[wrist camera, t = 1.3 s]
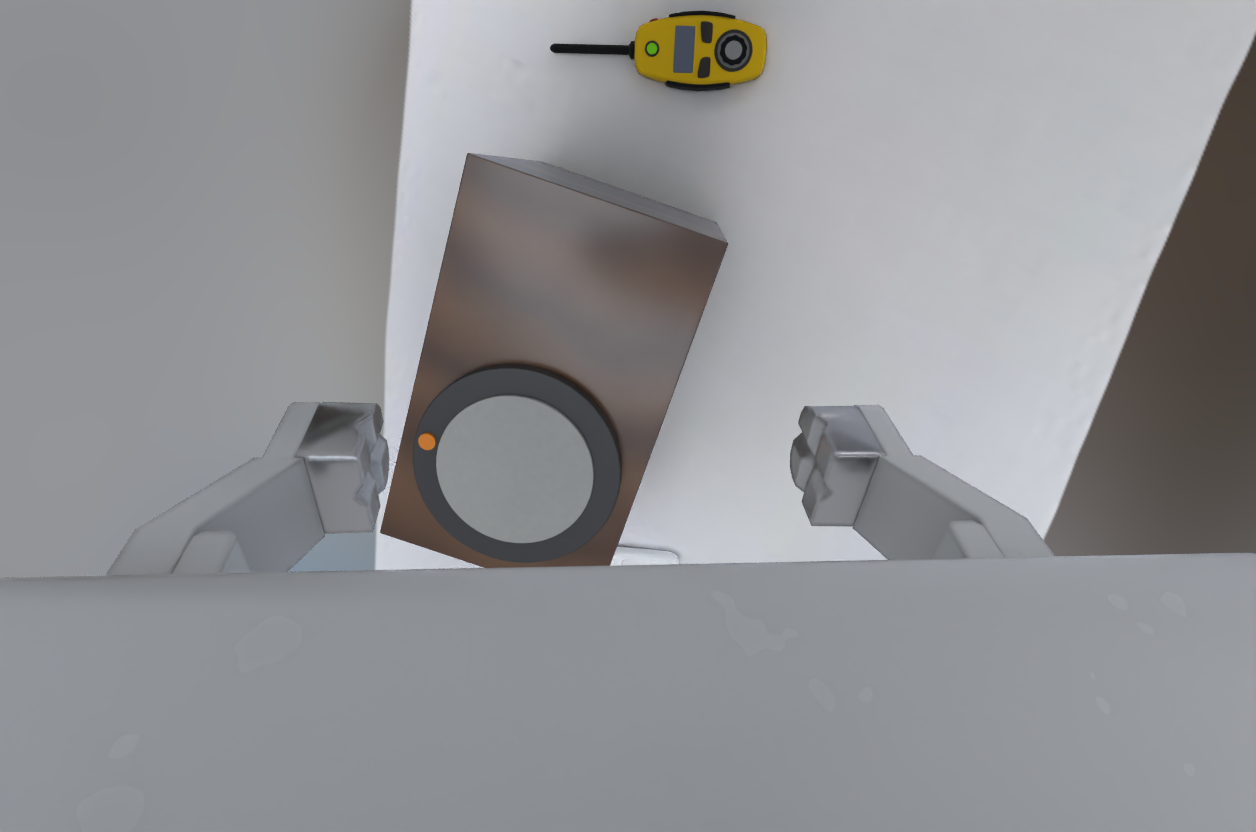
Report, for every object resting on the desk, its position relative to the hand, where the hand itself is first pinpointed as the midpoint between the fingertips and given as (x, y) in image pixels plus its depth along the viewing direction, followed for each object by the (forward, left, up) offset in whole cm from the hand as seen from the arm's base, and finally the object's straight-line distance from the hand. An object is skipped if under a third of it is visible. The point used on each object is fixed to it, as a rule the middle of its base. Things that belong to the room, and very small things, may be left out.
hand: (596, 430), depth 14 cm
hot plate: (+13, -4, -24) cm, 28 cm away
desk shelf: (+9, -4, -42) cm, 43 cm away
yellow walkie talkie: (-12, -5, -42) cm, 44 cm away
